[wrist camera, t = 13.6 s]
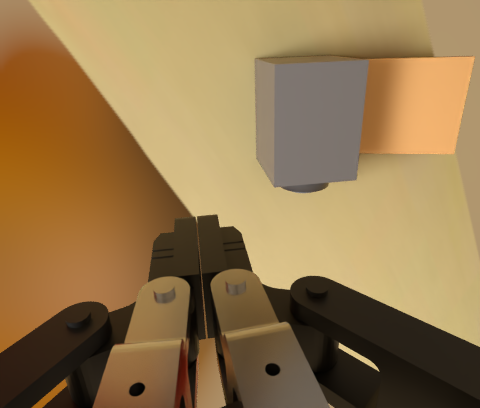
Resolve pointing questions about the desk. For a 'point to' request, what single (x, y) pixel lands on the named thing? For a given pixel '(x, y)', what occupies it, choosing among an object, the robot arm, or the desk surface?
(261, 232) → the desk surface
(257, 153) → the camera housing
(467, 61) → the side door
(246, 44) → the desk surface
